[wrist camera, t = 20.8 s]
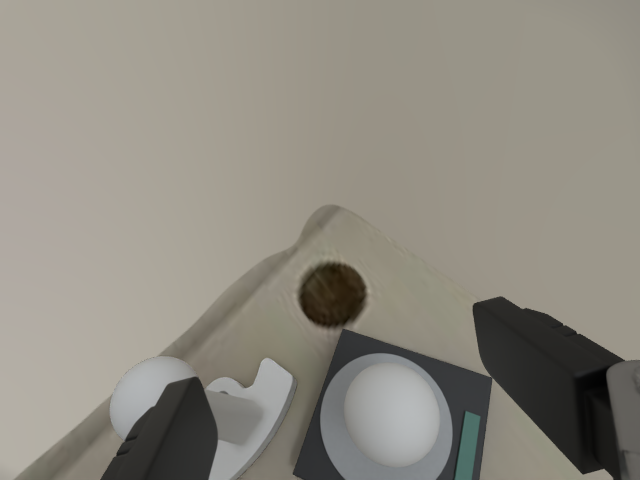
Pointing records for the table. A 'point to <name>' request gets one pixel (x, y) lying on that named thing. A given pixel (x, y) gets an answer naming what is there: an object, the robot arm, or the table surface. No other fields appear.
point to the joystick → (212, 407)
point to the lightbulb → (391, 414)
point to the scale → (453, 401)
